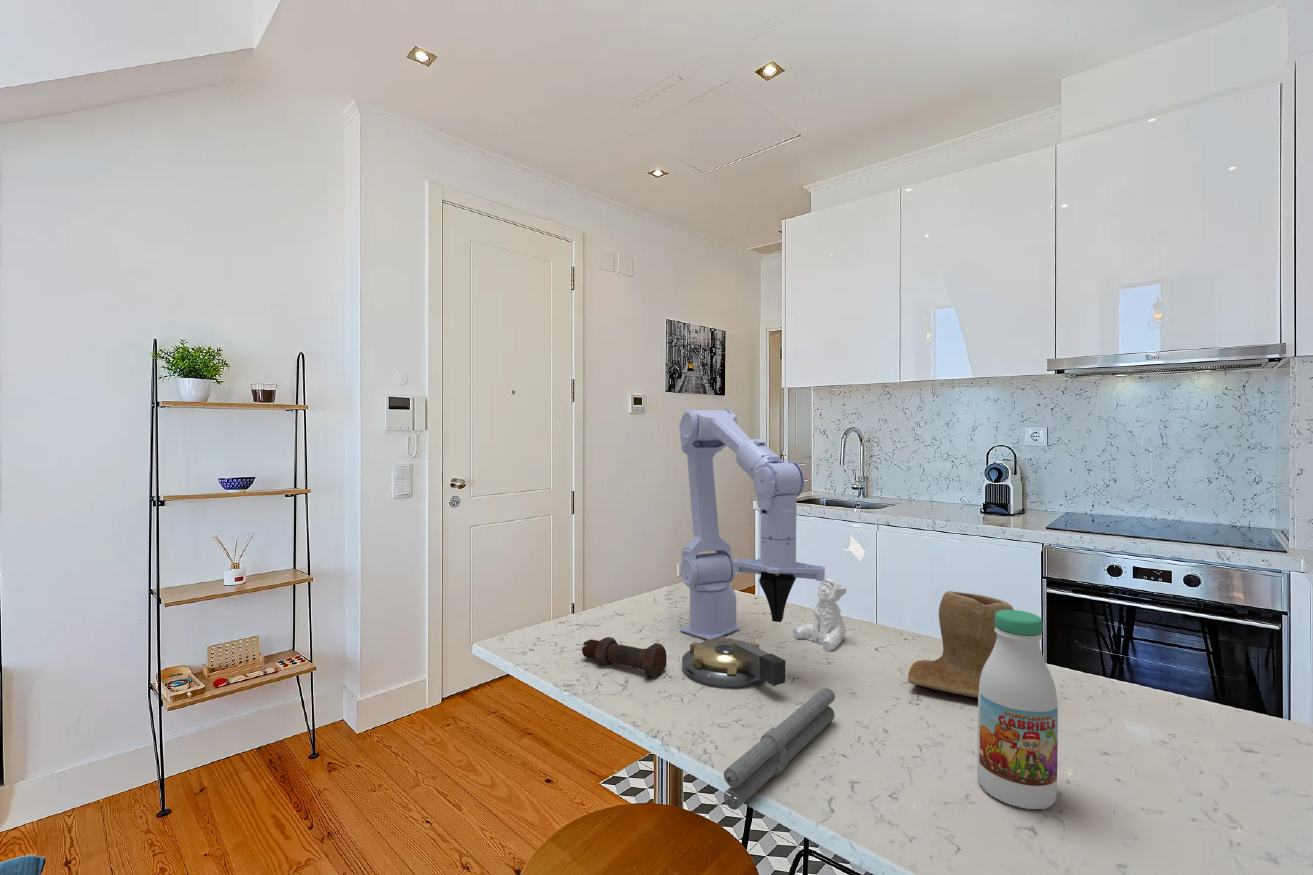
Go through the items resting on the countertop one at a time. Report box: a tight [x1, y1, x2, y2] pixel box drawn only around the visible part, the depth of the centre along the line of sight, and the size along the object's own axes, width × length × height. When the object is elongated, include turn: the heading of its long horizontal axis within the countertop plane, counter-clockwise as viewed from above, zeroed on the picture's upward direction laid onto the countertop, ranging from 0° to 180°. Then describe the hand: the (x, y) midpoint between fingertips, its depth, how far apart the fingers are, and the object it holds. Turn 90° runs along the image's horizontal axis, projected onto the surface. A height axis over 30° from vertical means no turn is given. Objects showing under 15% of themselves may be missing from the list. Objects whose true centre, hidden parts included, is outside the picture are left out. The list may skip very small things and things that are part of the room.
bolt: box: [581, 636, 668, 681], centre depth 103 cm, size 6×5×15 cm
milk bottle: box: [976, 609, 1059, 810], centre depth 68 cm, size 8×8×20 cm
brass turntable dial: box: [689, 636, 787, 687], centre depth 99 cm, size 19×13×4 cm
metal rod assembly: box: [723, 687, 836, 811], centre depth 74 cm, size 26×3×5 cm, turn 141°
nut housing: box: [681, 649, 767, 690], centre depth 102 cm, size 15×15×2 cm
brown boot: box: [907, 590, 1015, 699], centre depth 94 cm, size 15×12×15 cm
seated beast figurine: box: [792, 577, 847, 652], centre depth 115 cm, size 10×9×12 cm
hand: (777, 619), depth 98 cm, fingers closed
